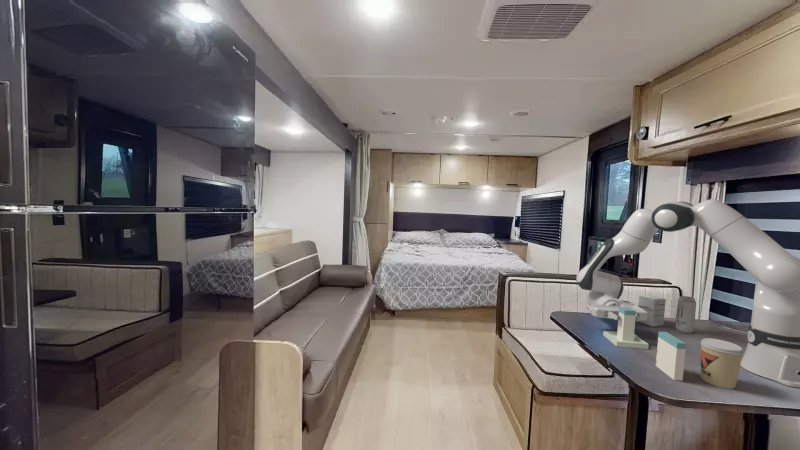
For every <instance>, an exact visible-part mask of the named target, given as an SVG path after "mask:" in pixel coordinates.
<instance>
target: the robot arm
mask: <svg viewBox="0 0 800 450" xmlns="http://www.w3.org/2000/svg"><path fill="white" fill-rule="evenodd" d="M691 226H693V227H695V228H699V229H700V230H702V231H703V232H704V233H706V235H708V236H709V237H710V239H712V240H714V242H716V243H717V244H718V245H719V246H720V247H721V248H722V249H724V250H725V251H726V252H727V253H729V255H731V256H732V257H733V258H734V259H735V260H736V261H737V262H738V263H739V264H740V265H741V266H742V267H743V268H744V269H745V270H746V271H747V272H748V273H749V274H750V275H751V276H752V277H754V278H755V279H756V280H755V285H754V286H755V288H754V294H753V302H752V310H751V312H752V313H751V320H750V324H749V325H748V330H747V345H746V348H745V351H744V353H743V355H742V359H741V364H740V367H742V368H743V369H745V370H746V371H749V372H750V373H752V374H755V375H758V376H761V377H762V378H764V379H765V378H766V379H770V380H773V381H775V382H778V383H780V384H782V385H785V386H788V387H793V388H799V389H800V258H798V257H796V256H795V255H793V254H791V253H790V252H788V251H787V250H786V249H785V247H782V245H780V244H779V243H778V242H777V241H775V239H773V238H772V237H771V236H769V235H768V234H767V233H766V232H764V231H763V230H762V229H760V228H759V227H758V226H757V225H756V224H754V223H753V222H752V221H751V220H749V219H748V218H747V217H745V216H744V215H742V213H740V212H739V211H737V210H736V209H734V208H733V207H731V206H730V205H728V204H726V203H724V202H722V201H720V200H717V199H711V198H710V199H706V200H702V201H701V202H699V203H697V204H696V205H694V204H692V203H690V202H688V201H670V202H666V203H663V204H660V205H659V206H657V207H655V208H654V210H651V209H648V208H639V209H637V210H635V211H634V212H633V213H632V214H631V215H630V216H629V217H628V219H627V220H626V221H625V222H624V225H623V226H622V228H621V230H620V231H619V232H618V233H617V234H616V235H615V236H613V237H612V238H609V239H606V240H605V241H604V242H603V243H602V244H601V245H600V246H599V248H598V249H597V250H596V251H595V252H594V254H593V255H592V256H591V258H590V259H589V260H588V261H587V263H586V264H585V265H584V266H583V267H582V268H580V269H579V271H578V272H577V274H576V277H575V281H576V283H577V286H578V287H580V289H581V290H584V291H588V292H587V295H586V301H587V303H588V305H587V306H586V309H587V310H588V311H589V313H590V315H591V316H593V317H595V318H601V319H602V318H603V319H608V320H615V321H618V320H620V318H621V317H620V316H619V307H625V308H631V309H633V310H635V311H636V317H635V323H636V322H638V323H640V322H639V320H641V321H646V320H647V317H648V313H647V311H645V310H644V309H642V308H640V307H638V305H636V304H635V303H634V302H633V301H628V300H622V299H620V298H621V296H622V295H623V292H624V283H623V280H622V279H621V278H620V276H618V275H615V274H612V273H609V272H604V271H600V269H601V267H602V266H603V265H604V264H605V263H606V261H607V260H609V259H610V258H612V257H617V256H632V255H637V254H640V253H642V252H644V251H645V250H646V249H647V248H648V247H649V245H650V243H651V241H652V240H653V238H654V236H655V235H656V233H657V232H658V231H659V230H660V231H663V232H668V233H669V232H670V233H672V232H678V231H683V230H686V229H688V228H690V227H691Z"/></svg>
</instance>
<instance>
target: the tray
mask: <svg viewBox="0 0 800 450" xmlns="http://www.w3.org/2000/svg"><path fill="white" fill-rule="evenodd" d="M602 333H603V334H602V335H603V336H604V337H605V338H606V339H607V340H608V341H609V342H611V343H612V344H613V345H614V346H616V347H617V346H618V347H619V348H629V349H631V348H632V349H640V350H641V349H642V350H644V349H645V350H649V343H647V342H646V341H644V339H642V338H641V337H639V336H638V335H637V334H635V333H634V341H622V340H621V339H620V338H618V337H617V331H615V330H614V331H613V330H603V332H602Z"/></svg>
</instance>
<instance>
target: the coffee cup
mask: <svg viewBox="0 0 800 450" xmlns="http://www.w3.org/2000/svg"><path fill="white" fill-rule="evenodd" d="M700 344H701V346H700V377H701V379H702V380H703V381H705V382H706V383H707V384H710V385H712V386H716V387H719V388H723V389H729V390H733V389H735V388H736V385H737V383H738V378H739V372H740V368H741V365H740V364H741V360H742V358H743V355H744V350H743V348H742V347H741V346H740V345H738V344H735V343H734V342H730V341H726V340H722V339H719V338H718V339H717V338H712V337H711V338H709V337H707V338H706V337H705V338H702V340H700Z"/></svg>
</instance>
